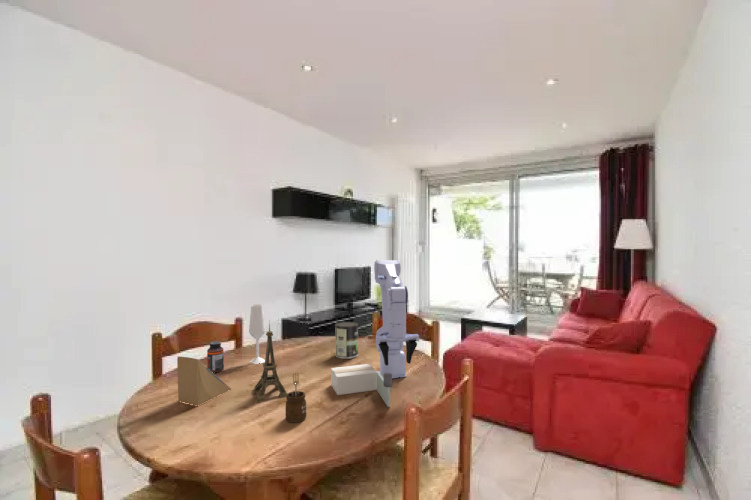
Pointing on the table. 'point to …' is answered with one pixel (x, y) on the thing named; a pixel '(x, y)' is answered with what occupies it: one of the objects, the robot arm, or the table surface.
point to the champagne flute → (257, 328)
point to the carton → (353, 379)
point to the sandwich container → (197, 382)
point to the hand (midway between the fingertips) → (397, 363)
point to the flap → (384, 386)
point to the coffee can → (346, 340)
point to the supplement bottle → (215, 357)
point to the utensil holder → (295, 404)
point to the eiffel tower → (266, 378)
